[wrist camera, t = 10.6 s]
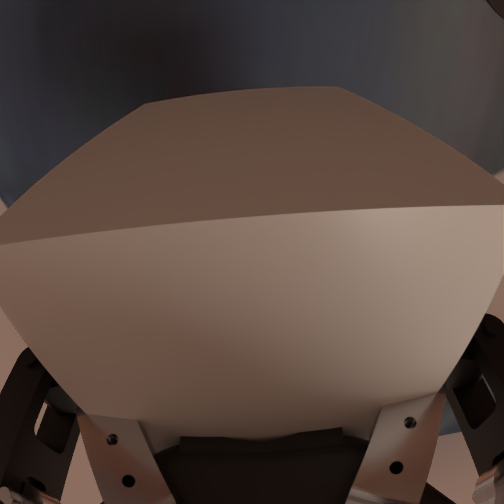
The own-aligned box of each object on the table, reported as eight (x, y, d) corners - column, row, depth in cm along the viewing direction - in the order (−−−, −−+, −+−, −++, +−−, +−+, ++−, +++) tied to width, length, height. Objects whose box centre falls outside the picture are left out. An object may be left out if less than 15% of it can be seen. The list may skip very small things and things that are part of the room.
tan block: (339, 86, 10) (528, 204, 3) (327, 314, 16) (363, 481, 9) (145, 104, 10) (-32, 250, 3) (196, 323, 16) (179, 492, 9)
